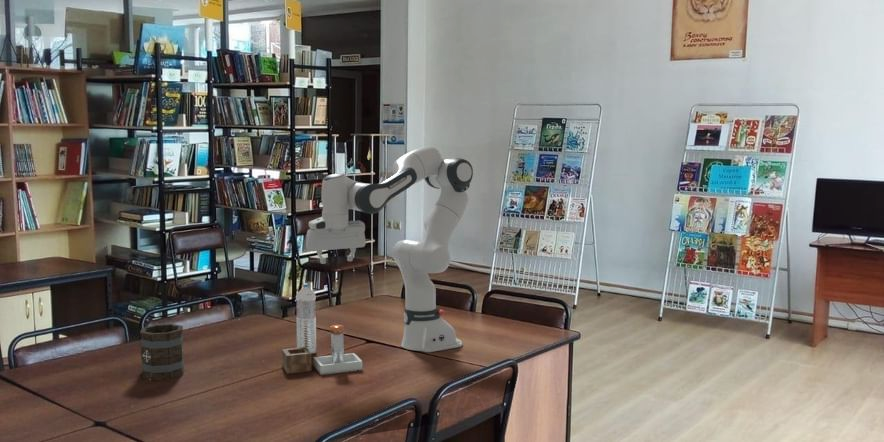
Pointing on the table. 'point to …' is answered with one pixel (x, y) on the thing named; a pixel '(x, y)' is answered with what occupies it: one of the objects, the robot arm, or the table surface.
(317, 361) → the tray
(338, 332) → the pin
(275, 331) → the table surface
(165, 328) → the mug
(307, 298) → the water bottle
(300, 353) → the block
